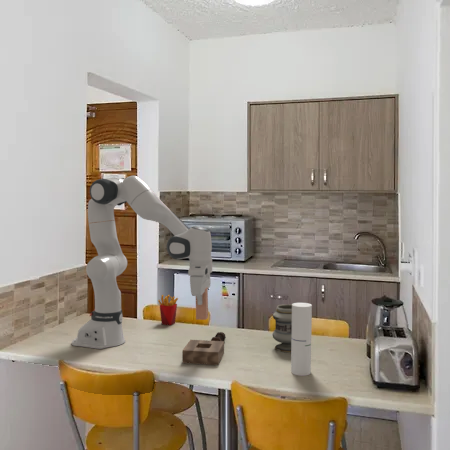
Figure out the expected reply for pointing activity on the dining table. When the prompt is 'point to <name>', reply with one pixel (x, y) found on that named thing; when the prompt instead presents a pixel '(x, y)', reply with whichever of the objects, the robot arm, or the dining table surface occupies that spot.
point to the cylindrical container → (301, 339)
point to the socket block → (203, 352)
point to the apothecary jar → (283, 327)
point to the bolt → (219, 337)
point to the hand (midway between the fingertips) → (201, 302)
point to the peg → (202, 307)
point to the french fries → (168, 310)
